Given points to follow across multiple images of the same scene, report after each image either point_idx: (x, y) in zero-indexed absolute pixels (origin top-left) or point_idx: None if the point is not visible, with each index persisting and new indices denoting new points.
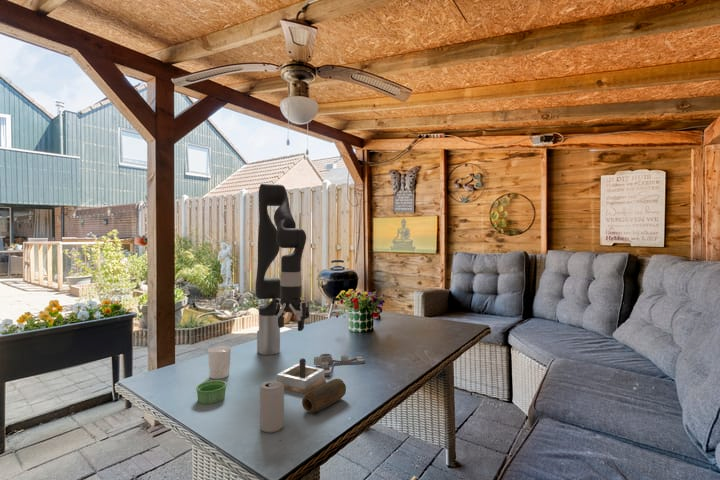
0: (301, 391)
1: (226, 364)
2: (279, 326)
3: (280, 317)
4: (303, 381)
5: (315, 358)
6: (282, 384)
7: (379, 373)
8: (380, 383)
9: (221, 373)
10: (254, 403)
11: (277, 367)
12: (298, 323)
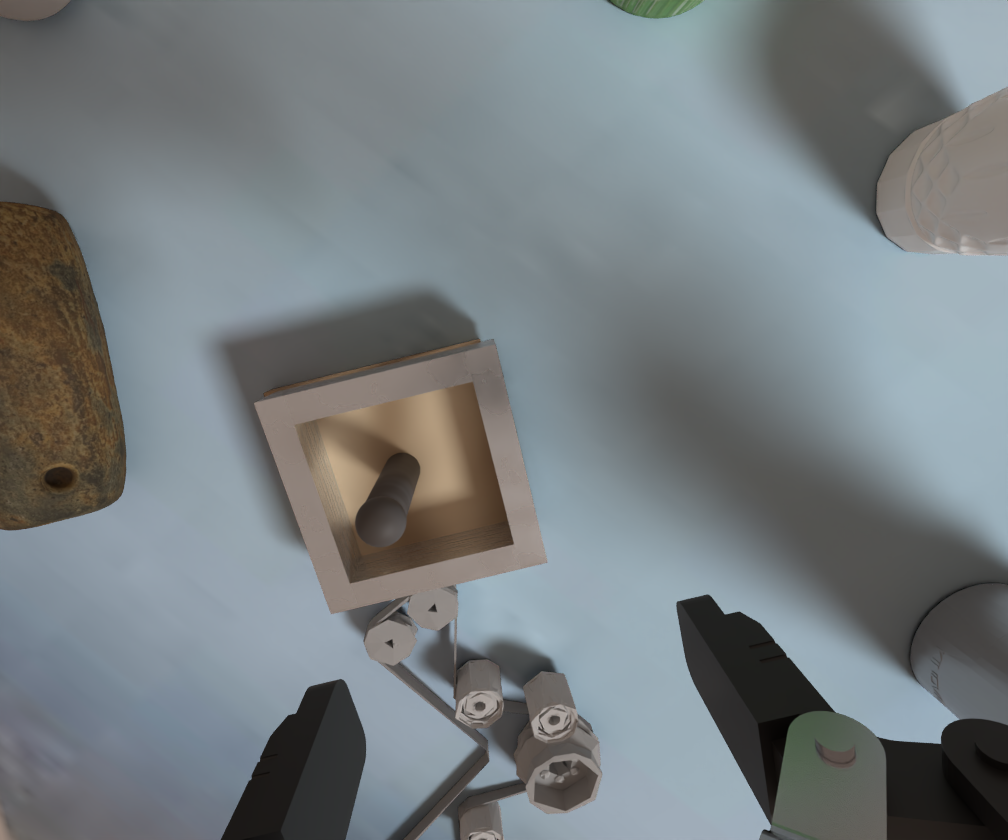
0: (305, 381)
1: (946, 188)
2: (695, 603)
3: (775, 746)
4: (268, 398)
5: (554, 704)
6: None
7: (212, 818)
8: (103, 736)
9: (908, 159)
10: (386, 86)
11: (728, 520)
12: (286, 781)
